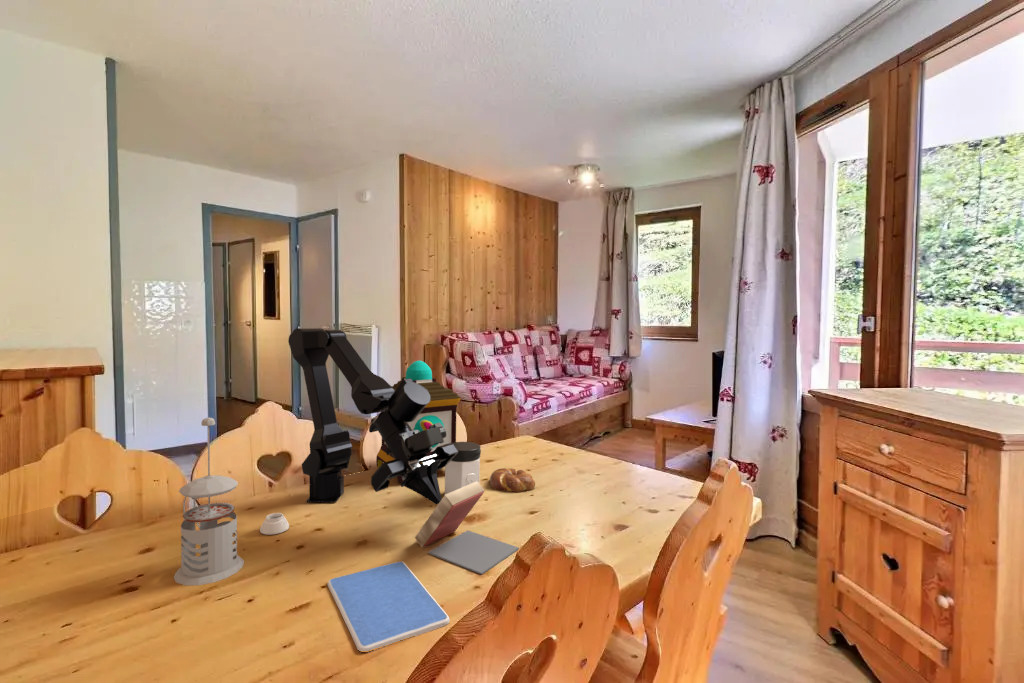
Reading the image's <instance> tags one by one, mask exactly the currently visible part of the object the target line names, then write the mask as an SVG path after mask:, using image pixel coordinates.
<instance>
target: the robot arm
mask: <svg viewBox="0 0 1024 683" xmlns="http://www.w3.org/2000/svg"><path fill="white" fill-rule="evenodd" d="M287 340H288V346H289V348H290V352H291V354H292V357H293V359H294V360H295V361H296V362H297V364H298V365H299V366H300V367H301V368H302V370H303V376H304V382H305V386H306V391H307V396H308V402H309V407H310V408H309V409H310V413H311V418H312V419H311V420H312V423H313V428H314V429H313V430H314V431H313V433H312V436H311V439H310V442H309V454H308V455H307V457H306V458H305V459H304V461H303V462H302V463H301V468H302V469H301V470H302V474H304V475H307V476H309V478H308V479H309V480H308V482H309V483H308V484H309V486H308V487H309V494H308V495H309V497H307V499H306V503H337V501H339V499H340V498H341V497H342V495H343V494H344V493H345V488H344V487H345V486H344V485H345V483H344V482H345V477H344V475H342V470H344V469H348V468H349V463H350V459H351V456H352V448H353V445H352V443H351V438H350V432H349V431H348V429H345V430H343V429H342V427H340V425H339V424H338V419H337V416H336V414H337V413H336V410H335V404H334V400H333V395H332V389H331V384H330V379H329V374H328V369H327V360H328V358H329V357H331V360H332V361H333V363H335V365H336V367H337V368H338V369H339V371H340V372H341V374H342V375H343V376H344V377H345V379H346V381H347V382H348V383H349V385H350V388H351V394H350V396H351V398H352V401H353V403H354V404H355V407H356V408H357V410H358V412H359V413H360V414H362V415H371V414H376V413H378V415H377V416H376V417H372V418H371V419H370V425H369V428H368V431H369V433H374V432H378V433H379V434H380V437H381V439H382V438H383V440H384V442H385V443H386V445H387V447H388V448H387V449H386V451H385V452H386V454H387V455H390V454H392V455H393V457H394V459H395V460H391V461H388V462H385V463H382V465H381V466H380V467H379V468H378V467H377V470H376V471H375V472H374V473H373V474H372V475H371V477H370V485H371V487H372V488H373V490H374V492H375V493H377V492H381V491H382V490H383V491H384V490H385V489H387V488H389V486H390V480H392V479H394V478H398V476H402V479H403V482H402V483H401V484H399V486H400V487H401V488H403V487H405V488H406V489H409V490H410V491H412V492H415V493H416V494H418V495H419V496H422V497H423V498H424V499H426V500H428V501H430V502H431V503H433V504H435V505H438V504H439V502H440V501H441V500H442V498H443V497H442V494H441V490H440V485H439V479H438V470H442V469H445V466H446V465H447V464H448V463H449V462H450V461H451V460H452V459H453V458H454V456H455V455H456V454H457V453H458V451H457V449H456V448H455V446H454V445H453V444H449V443H448V444H445V445H441V446H438V447H437V448H436V449H435V450H434V451H433V452H432V453H431V455H429V456H428V455H427V453H429V452H430V451H431V450H432V449H433V448H432V447H431V446H433V445H436V444H438V443H440V444H441V443H443V442H444V441H443V438H445V437H446V435H447V434H446V430H445V428H444V427H443V426H442V424H441V423H436V424H434V425H431V426H429V429H427V430H424V431H421V432H420V431H419V430H412V429H411V427H410V426H409V424H408V422H412V421H414V419H415V418H416V417H417V416H418V415H419V414H420V412H421V411H422V410H423V409H424V408H425V406H426V405H427V404H428V403H429V402H430V394H429V392H428V391H427V389H425V388H424V387H422V386H421V385H419V384H417V383H414V382H413V381H412V379H403V380H402V379H401V380H402V381H401V380H400V381H401V383H400V385H399V387H398V388H397V389H396V390H394V389H393V388H392V387H391V386H392V385H391V384H390V383H388V382H387V381H386V380H385V379H384V377H381V376H379V375H377V374H375V373H374V372H372V371H371V370H370V368H369V367H368V366H367V364H366V363H365V362H364V360H363V359H362V358H361V355H359V353H358V352H357V351H356V350H355V348H354V346H353V345H352V343H351V342H350V340H348V337H347V334H346V332H345V331H343V330H341V329H324V328H321V327H312V328H311V327H309V328H307V327H305V328H303V327H300V328H299V327H298V328H295V329H294V330H292V332H291V333H290V335H289V336H288V339H287Z"/></svg>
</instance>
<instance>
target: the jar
mask: <svg viewBox="0 0 1024 683" xmlns="http://www.w3.org/2000/svg"><path fill="white" fill-rule="evenodd" d="M450 444H453V445H454V446H455V448H456V449H457V451H458V453H457V454H456V455H455V456H454V458H453V459H452V460H451V461H450V462H449V463H448V464H447V465H446V466H445V467H444V495H446V494H448V493H450V492H453V491H455V490H457V489H460V488H462V487H464V486H467V485H469V484H471V483H474V482H476V481H477V482H478V483H479V484H480V469H481V468H480V466H481V465H480V463H481V452H482V450H481V445H480V444H479V443H476V442H472V441H456V442H454V443H450Z"/></svg>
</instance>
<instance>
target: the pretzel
mask: <svg viewBox="0 0 1024 683" xmlns="http://www.w3.org/2000/svg"><path fill="white" fill-rule="evenodd" d="M533 478H534V477H533V476H532V475H531V474H530V473H527V472H526V471H525V470H523V469H518V470H516V469H515V468H512V467H511V468H505V467H504V468H497V469H495V470H494V471H493V472H492V473H491V475H490V477H489V481H490V485H491V487H492V488H493V489H495V490H497V491H507V492H514V493H520V491H521V492H524V491H527V490H528V491H532V490H534V488H535V486H536V481H535V480H534V479H533ZM531 489H532V490H531Z"/></svg>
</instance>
